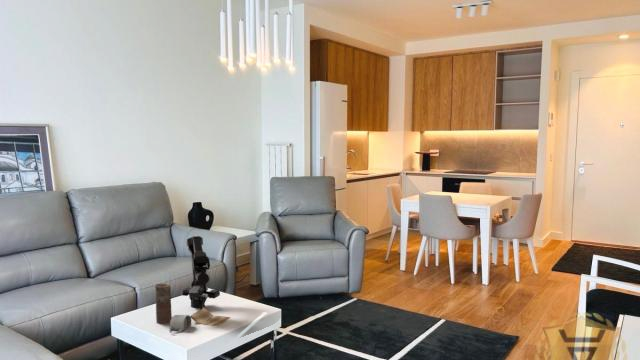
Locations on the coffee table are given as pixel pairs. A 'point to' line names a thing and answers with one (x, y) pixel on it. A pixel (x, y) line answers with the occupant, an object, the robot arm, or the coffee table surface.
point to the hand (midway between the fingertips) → (201, 309)
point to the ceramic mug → (180, 323)
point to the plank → (201, 316)
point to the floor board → (217, 321)
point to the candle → (163, 303)
